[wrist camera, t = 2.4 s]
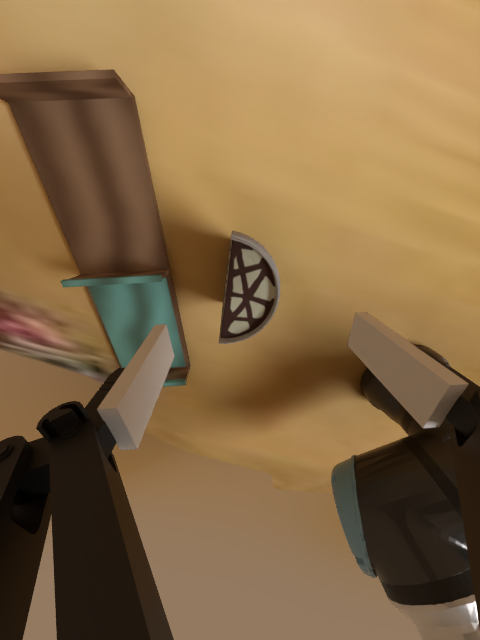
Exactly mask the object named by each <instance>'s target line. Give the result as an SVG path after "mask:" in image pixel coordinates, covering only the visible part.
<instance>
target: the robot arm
mask: <svg viewBox="0 0 480 640" xmlns="http://www.w3.org/2000/svg"><path fill="white" fill-rule="evenodd" d="M347 346H348V347H349V348H350V349H351V350H352V351H353V352H354V353H355V354H356V355H357V356H358V358H359V359H360V360H361V361H362V362H363V363H364V364H365V365H366V366H367V367H368V369H367V370H366V371H365V373H364V375H363V377H362V380H361V390H362V392H363V394H364V395H365V397H366V398H367V399H368V401H369V402H370V403H371V404H372V405H373V406H374V407H376V408H377V409H379V410H382V411H383V412H384V413H385V414H386V415H387V416H389V417H390V418H391V419H392V420H394V421H395V422H396V423H398V424H399V425H400V426H401V427H402V428H403V429H404V430H405V432H406V433H407V434H408V435H409V436H408V437H405V438H402V439H400V440H397V441H395V442H392V443H389V444H387V445H384V446H381V447H379V448H376V449H373V450H371V451H368V452H365V453H363V454H360V455H357V456H356V455H353V456H352V457H351V458H350V459H348V460H345V461H343V462H341V463H339V464H337V465H336V466H335V467H334V468H333V470H332V475H331V482H332V490H333V495H334V499H335V504H336V508H337V511H338V515H339V518H340V521H341V524H342V527H343V530H344V533H345V536H346V538H347V541H348V544H349V546H350V548H351V551H352V553H353V555H354V556H355V558H356V561H357V563H358V565H359V566H360V569H361V570H362V571H363V572H364V573H365V574H366V575H368V576H371V577H373V578H375V577H377V576H378V577H379V579H380V581H381V583H382V586H383V588H384V590H385V592H386V594H387V597H388V599H389V601H390V602H391V603H392V604H393V605H394V606H395V607H396V608H398V609H399V610H400V611H401V612H402V613H404V614H405V615H406V616H407V617H408V618H410V619H411V620H412V621H413V623H414V624H415V625H416V627H417V629H418V631H419V633H420V635H421V638H422V640H480V387H479V386H478V385H476V384H475V383H473V382H472V381H470V380H469V379H467V378H466V377H464V376H463V375H461V374H460V373H459V372H457V371H456V370H454V369H453V368H451V367H450V365H449V363H448V362H447V360H446V359H445V358H444V357H442V356H441V355H440V354H438V353H437V352H435V351H433V350H432V349H430V348H428V347H425V346H419V345H413V344H411V343H410V342H408V341H407V340H406V339H404V338H403V337H401V336H400V335H398V334H397V333H396V332H394V331H393V330H391V329H390V328H388V327H387V326H386V325H384V324H383V323H381V322H380V321H378V320H377V319H376V318H374V317H373V316H371V315H370V314H368V313H367V312H359V313H355V317H354V321H353V325H352V329H351V333H350V337H349V340H348V344H347ZM173 359H174V352H173V348H172V344H171V340H170V337H169V333H168V329H167V325H166V324H162V325H155V326H154V327H153V329H152V330H151V332H150V333H149V335H148V336H147V337H146V339H145V340H144V342H143V343H142V345H141V346H140V348H139V349H138V350H137V352H136V353H135V355H134V356H133V358H132V359H131V361H130V362H129V364H128V365H127V366H126V368H118V369H117V370H116V371H114V372H113V373H112V374H110V375H109V377H108V378H107V379H106V381H105V382H104V384H103V385H102V386H101V387H100V389H99V391H97V393H96V394H95V395H94V397H93V398H92V399H91V401H90V402H89V403H88V405H87V406H86V407H85V408H84V407H83V405H82V404H81V403H80V402H77V401H73V402H67V403H64V404H61V405H59V406H57V407H55V408H54V409H52V410H50V411H49V412H48V413H47V414H46V415H44V416H43V417H42V419H41V420H40V421H39V422H38V425H37V428H36V429H37V430H38V431H39V432H40V433H41V434H42V435H43V438H40V439H37V440H34V441H31V442H27V441H26V439H24V437H23V436H13V437H10V438H7V439H5V440H2V441H0V640H22V639H23V634H24V630H25V626H26V622H27V617H28V613H29V608H30V604H31V600H32V596H33V591H34V587H35V583H36V578H37V574H38V569H39V565H40V561H41V557H42V552H43V548H44V543H45V539H46V535H47V530H48V526H49V521H50V517H51V513H52V535H53V559H54V582H55V604H56V626H57V627H56V628H57V640H174V639H173V636H172V633H171V630H170V627H169V624H168V621H167V618H166V615H165V612H164V608H163V605H162V602H161V599H160V596H159V593H158V590H157V587H156V584H155V581H154V578H153V575H152V572H151V568H150V565H149V562H148V559H147V556H146V553H145V550H144V547H143V544H142V541H141V538H140V535H139V532H138V529H137V525H136V522H135V519H134V516H133V513H132V510H131V507H130V504H129V501H128V498H127V495H126V492H125V489H124V486H123V483H122V480H121V477H120V473H119V471H118V467H117V464H116V461H115V458H114V455H113V454H112V450H113V448H114V446H115V444H116V443H117V445H118V447H119V448H120V450H131V449H138V447H139V444H140V442H141V439H142V437H143V434H144V432H145V429H146V427H147V424H148V422H149V419H150V417H151V414H152V412H153V409H154V407H155V404H156V402H157V399H158V397H159V394H160V392H161V389H162V387H163V384H164V382H165V379H166V376H167V374H168V371H169V369H170V366H171V364H172V361H173Z"/></svg>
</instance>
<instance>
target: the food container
mask: <svg viewBox="0 0 480 640" xmlns="http://www.w3.org/2000/svg"><path fill="white" fill-rule="evenodd" d="M279 297H280V278H279V272H278V270H277V267H276V264H275V262H274V260H273V258H272V256H271V255H270V254H269V253H268V251H267V250H266V249H265V248H264V247H263V246H262V245H261V244H260V243H259V242H257V241H256V240H254V239H253V238H251V237H249V236H247V235H245V234H243V233H240V232H236V231H232V236H231V239H230V247H229V256H228V264H227V273H226V281H225V290H224V299H223V308H222V317H221V327H220V337H219V343H224V344H227V343H235V342H239V341H243V340H245V339H248V338H250V337H252V336H254V335H255V334H257V333H258V332H259V331H261V330H262V329H263V328H264V327H265V326H266V325H267V323H268V322H269V321H270V319H271V318H272V316H273V315H274V313H275V311H276V308H277V305H278V303H279Z"/></svg>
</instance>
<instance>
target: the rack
mask: <svg viewBox="0 0 480 640" xmlns="http://www.w3.org/2000/svg"><path fill="white" fill-rule="evenodd" d="M0 99H2V100H4V101H6V102H8V103H9V105H10V107H11V110H12V112H13V114H14V117H15V119H16V122H17V124H18V126H19V129H20V131H21V133H22V136H23V138H24V140H25V143H26V145H27V148H28V150H29V152H30V155H31V157H32V159H33V162H34V164H35V167H36V169H37V171H38V174H39V176H40V178H41V181H42V183H43V186H44V188H45V190H46V193H47V195H48V197H49V200H50V202H51V205H52V207H53V209H54V212H55V214H56V216H57V219H58V221H59V224H60V226H61V228H62V231H63V233H64V235H65V238H66V240H67V242H68V245H69V247H70V250H71V252H72V254H73V257H74V259H75V261H76V264H77V266H78V269H79V271H80V273H81V275H79V276H76V277H73V278H71V279H66V280H62V281H61V283H62V285H63V287H78V286H86V288H87V290H88V292H89V295H90V297H91V299H92V302H93V304H94V307H95V309H96V311H97V314H98V316H99V318H100V321H101V323H102V326H103V328H104V330H105V333H106V335H107V337H108V340H109V342H110V344H111V347H112V349H113V352H114V354H115V356H116V359H117V361H118V363H119V366H120V368H126V366H127V365H128V364H129V362H130V361H131V359H132V358H133V356H134V355H135V353H136V352H137V350H138V349H139V348H140V346H141V345H142V343H143V342H144V340H145V339H146V337H147V336H148V335H149V333H150V332H151V330H152V329H153V327H154V326H155V325H162V324H166V325H167V329H168V333H169V337H170V340H171V344H172V348H173V352H174V359H173V361H172V364H171V366H170V369H169V371H168V374H167V376H166V379H165V382H164V384H163V387H166V386H182V385H186V380H187V377H188V373H189V370H190V361H189V356H188V352H187V347H186V342H185V337H184V332H183V328H182V323H181V318H180V313H179V308H178V303H177V299H176V294H175V289H174V284H173V279H172V275H171V270H170V265H169V260H168V255H167V250H166V246H165V241H164V236H163V231H162V226H161V222H160V217H159V212H158V207H157V202H156V197H155V193H154V188H153V183H152V178H151V173H150V169H149V164H148V159H147V154H146V149H145V144H144V140H143V135H142V130H141V125H140V120H139V116H138V111H137V106H136V101H135V96H134V95H133V94H132V92H131V91H130V90H129V88H128V87H127V86H126V85H125V83H124V82H123V81H122V80H121V78H120V77H119V76H118V75H117V73H116V72H115V71H114V70H90V71H65V72H40V73H16V74H0Z"/></svg>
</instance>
